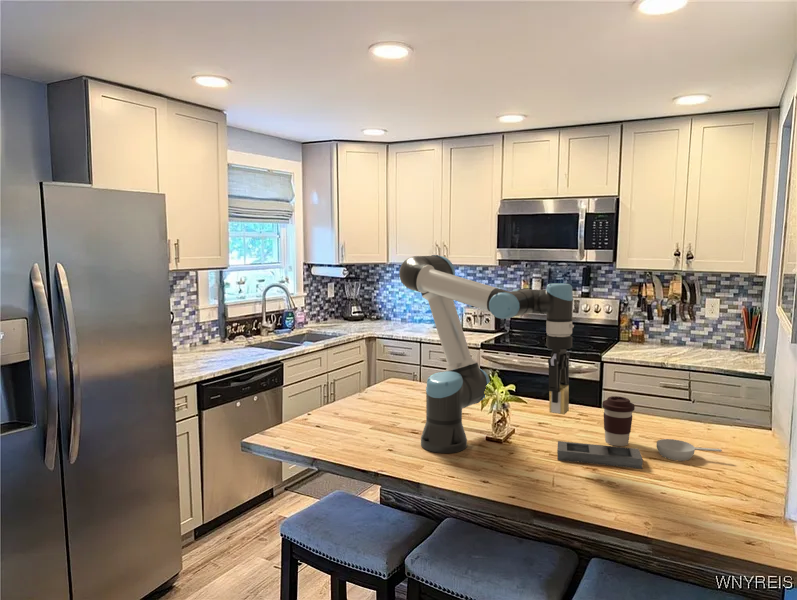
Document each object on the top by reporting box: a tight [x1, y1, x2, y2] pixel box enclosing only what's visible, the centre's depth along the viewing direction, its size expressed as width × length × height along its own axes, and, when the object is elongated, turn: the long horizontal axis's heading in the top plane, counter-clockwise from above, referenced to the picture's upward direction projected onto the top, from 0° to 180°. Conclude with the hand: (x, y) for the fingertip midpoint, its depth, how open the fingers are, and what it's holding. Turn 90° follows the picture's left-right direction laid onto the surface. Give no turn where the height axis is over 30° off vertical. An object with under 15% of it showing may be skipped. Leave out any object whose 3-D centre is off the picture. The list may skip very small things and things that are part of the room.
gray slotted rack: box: [556, 440, 644, 470], centre depth 169 cm, size 24×8×3 cm, turn 74°
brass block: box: [548, 384, 570, 415], centre depth 167 cm, size 4×4×8 cm
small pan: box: [656, 438, 722, 462], centre depth 171 cm, size 11×18×4 cm, turn 68°
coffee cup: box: [601, 395, 636, 447], centre depth 182 cm, size 10×10×15 cm
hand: (558, 410), depth 168 cm, fingers closed on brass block, 4 cm apart
